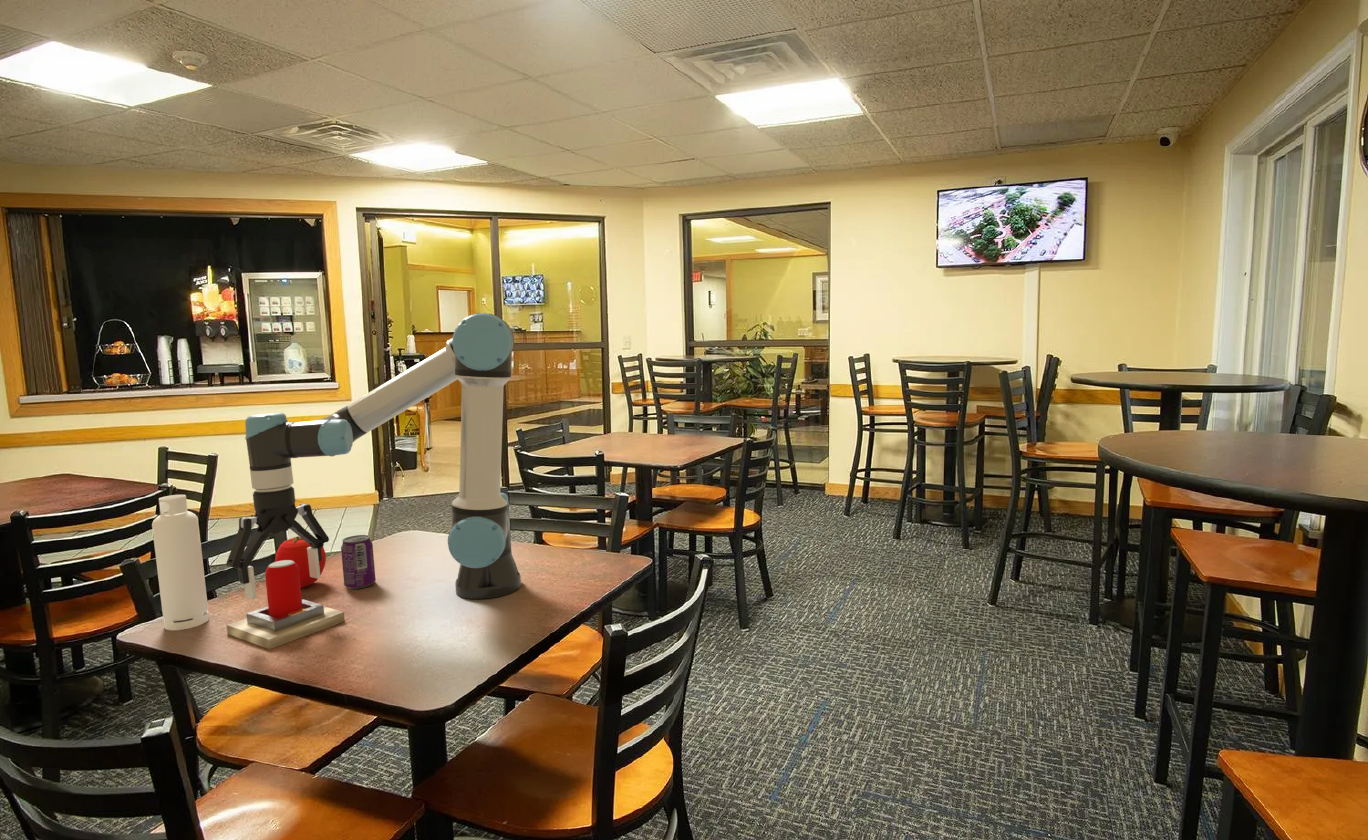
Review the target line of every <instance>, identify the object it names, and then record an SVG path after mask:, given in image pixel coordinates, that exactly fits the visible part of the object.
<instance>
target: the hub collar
mask: <svg viewBox="0 0 1368 840" xmlns="http://www.w3.org/2000/svg"><path fill="white" fill-rule="evenodd" d="M324 607H325V606H324V604H320V603H317V602H314V601H310V600H306V599H302V608H303V609H299V610H296V611H293V612H291V613H288V615H286V616H283V617H280V618H274V617H271V616H269V608H268V605H267V606H265V607H262V608H259V609H255V610H252V611H249V612H247V613H246V618H247V623H250V624H253V625H256V626H259V627H262V628H265V629H268V630H271V631H274V632H276V631H279V630H282V629H285V628H287V627H290V626H293V625H296V624H298V623H301V622H304V621H307V620H309V619H312V618H315V617H318V616H321V615H323V614H324Z"/></svg>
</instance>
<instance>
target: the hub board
mask: <svg viewBox="0 0 1368 840" xmlns="http://www.w3.org/2000/svg"><path fill="white" fill-rule="evenodd" d="M343 622H345V612H344V611H341V610H338V609H335V608H331V607H327V606H324V614H323V615H321V616H318V617H315V618H312V619H309V620H307V621H304V622H301V623H298V624H296V625H293V626H290V627H287V628H285V629H282V630H279V631H276V632H274V631H271V630H268V629H265V628H262V627H259V626H256V625H253V624H250V623H247V617H246V618H243V619H240V620H237V621H234V622H231V623H228V624H226V633H227V635H229V636H232V637H235V638H238V639H240V640H242V641H244V642H245V641H246V642H247V643H248V642H249V643H250V644H254V645H257V646H260V647H263V648H265V649H267V650H272V649H274V648H278V647H279V646H282V645H285V644H288V643H290V642H293V641H295V640H298V639H300V638H303V637H306V636H309V635H312V634H314V633H317V632H320V631H322V630H325V629H327V628H329V627H333V626H335V625H338V624H340V623H343Z"/></svg>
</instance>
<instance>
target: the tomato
mask: <svg viewBox="0 0 1368 840" xmlns="http://www.w3.org/2000/svg"><path fill="white" fill-rule="evenodd" d="M309 547H312V546H311V545H309V544H308V543H307V542H306V541H304V540H303V539H302V538H301V537H300V536H298V535H297V536H293V537H292V538H288V539H286V540H283V541H282V543H281V544H280V545H279V546H278V549H277V550H276V554H275V556H274V557H275V559H274V562H277V561H282V560H292V561H294V562H295V563H296V564H297V566H298V568H299V576H300V587H301V588H305V587H308V586H311V585H312V584H314V583H315V582H317V581H318V580H319V578H313V577H310V571H309V562H308V553H307V548H309ZM321 554H322V560H321V561H319V568H320V577H321V576H322V573H323V571H324V569H325V567H326V561H327V556H326V555H327V554H326V550H325V548H324V546H323V547H322V548H321Z"/></svg>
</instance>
